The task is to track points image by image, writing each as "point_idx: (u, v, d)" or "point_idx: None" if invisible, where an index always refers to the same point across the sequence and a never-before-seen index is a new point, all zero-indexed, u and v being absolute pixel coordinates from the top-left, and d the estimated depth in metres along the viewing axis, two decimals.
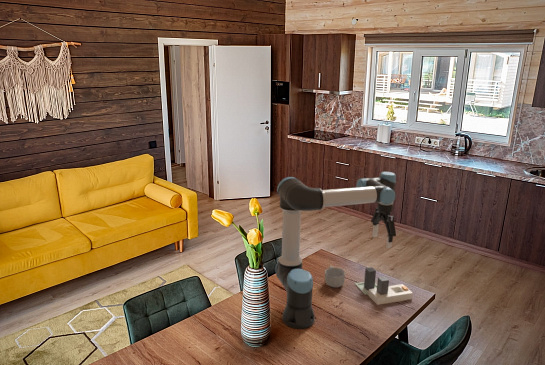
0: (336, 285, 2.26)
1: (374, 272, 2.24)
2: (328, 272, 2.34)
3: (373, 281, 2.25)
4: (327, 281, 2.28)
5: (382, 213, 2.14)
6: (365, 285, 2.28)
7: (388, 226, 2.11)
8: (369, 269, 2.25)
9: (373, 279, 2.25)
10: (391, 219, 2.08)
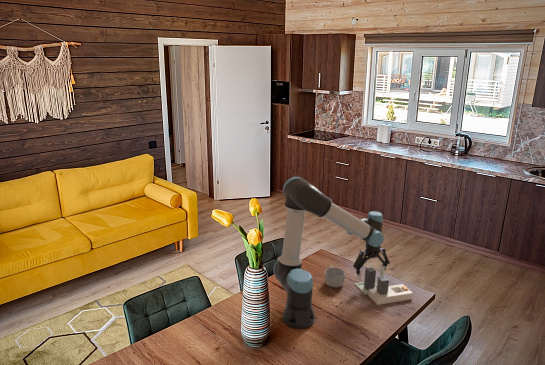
0: (336, 285, 2.26)
1: (374, 272, 2.24)
2: (328, 272, 2.34)
3: (373, 281, 2.25)
4: (327, 281, 2.28)
5: None
6: (365, 285, 2.28)
7: (362, 260, 2.22)
8: (369, 269, 2.25)
9: (373, 279, 2.25)
10: (360, 253, 2.20)
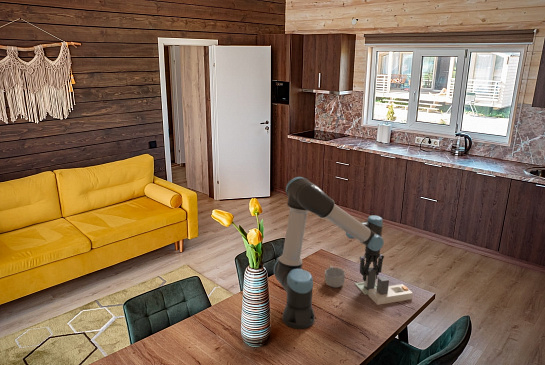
0: (336, 285, 2.26)
1: (374, 272, 2.24)
2: (328, 272, 2.34)
3: (373, 281, 2.25)
4: (327, 281, 2.28)
5: None
6: None
7: (365, 266, 2.24)
8: (369, 269, 2.25)
9: (373, 279, 2.25)
10: (360, 260, 2.22)
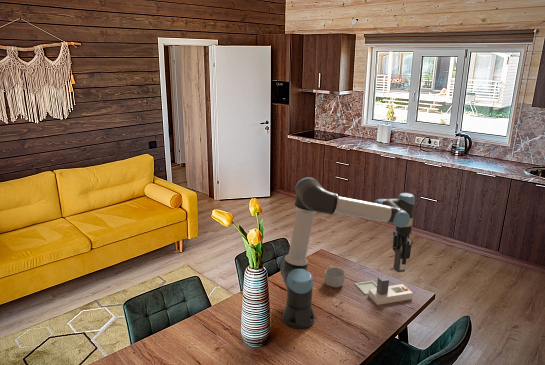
0: (336, 285, 2.26)
1: None
2: (328, 272, 2.34)
3: None
4: (327, 281, 2.28)
5: (401, 234, 2.11)
6: None
7: (404, 249, 2.10)
8: (401, 251, 2.13)
9: None
10: (409, 244, 2.06)
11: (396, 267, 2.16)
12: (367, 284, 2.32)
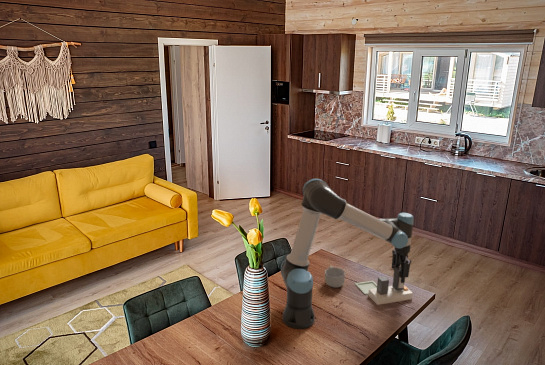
0: (336, 285, 2.26)
1: None
2: (328, 272, 2.34)
3: None
4: (327, 281, 2.28)
5: (399, 253, 2.14)
6: None
7: (403, 267, 2.13)
8: (400, 269, 2.16)
9: None
10: (408, 263, 2.09)
11: (395, 285, 2.18)
12: (367, 284, 2.32)
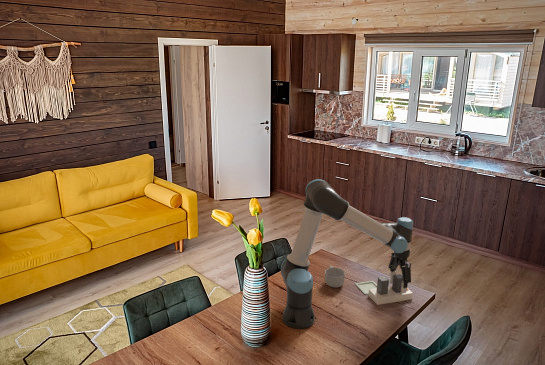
0: (336, 285, 2.26)
1: None
2: (328, 272, 2.34)
3: None
4: (327, 281, 2.28)
5: (399, 258, 2.14)
6: None
7: (404, 272, 2.12)
8: (399, 277, 2.17)
9: None
10: (408, 266, 2.09)
11: None
12: (367, 284, 2.32)
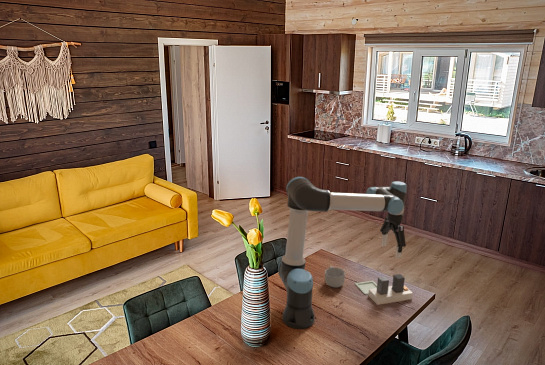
0: (336, 285, 2.26)
1: None
2: (328, 272, 2.34)
3: None
4: (327, 281, 2.28)
5: (392, 223, 2.12)
6: None
7: (398, 236, 2.09)
8: (399, 277, 2.17)
9: None
10: (401, 229, 2.06)
11: None
12: (367, 284, 2.32)
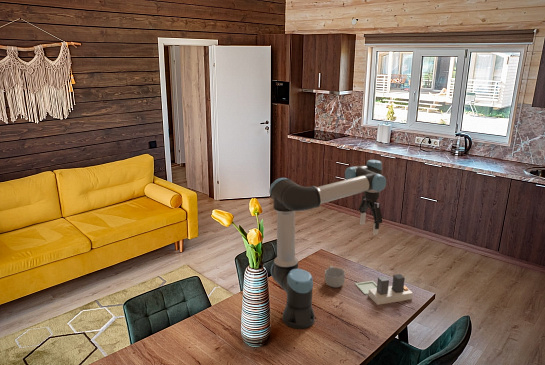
0: (336, 285, 2.26)
1: None
2: (328, 272, 2.34)
3: None
4: (327, 281, 2.28)
5: (369, 200, 2.18)
6: None
7: None
8: (399, 277, 2.17)
9: None
10: (377, 206, 2.12)
11: None
12: (367, 284, 2.32)
